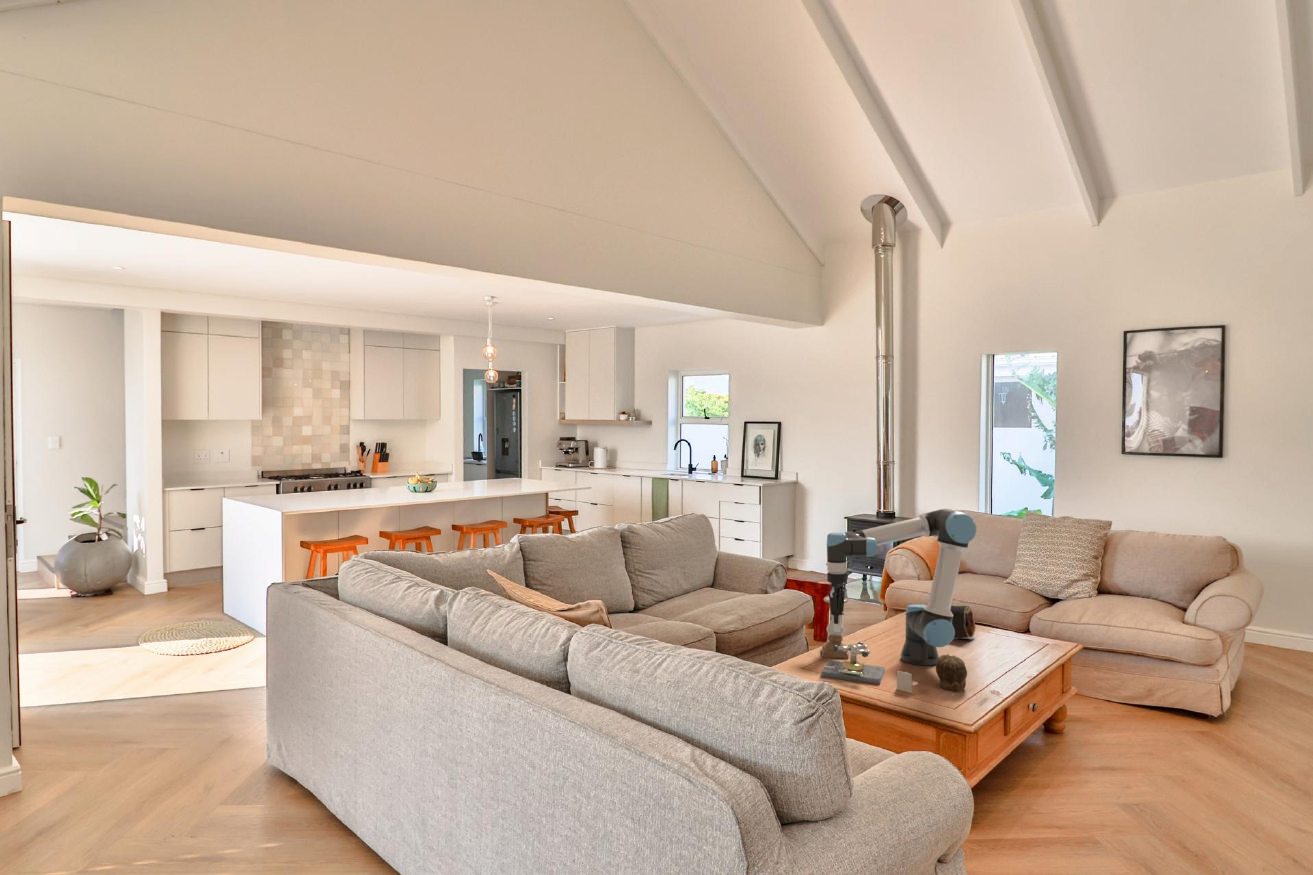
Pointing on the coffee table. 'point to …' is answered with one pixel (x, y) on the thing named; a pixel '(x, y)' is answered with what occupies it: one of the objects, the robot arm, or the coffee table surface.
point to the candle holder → (834, 639)
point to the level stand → (853, 673)
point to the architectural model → (905, 681)
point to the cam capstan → (853, 656)
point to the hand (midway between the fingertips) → (837, 631)
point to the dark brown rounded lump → (951, 673)
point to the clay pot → (963, 622)
